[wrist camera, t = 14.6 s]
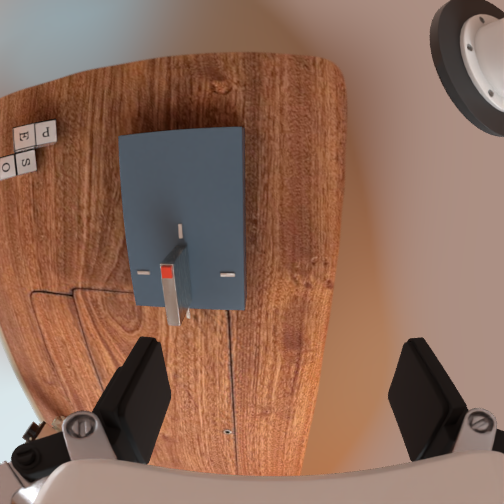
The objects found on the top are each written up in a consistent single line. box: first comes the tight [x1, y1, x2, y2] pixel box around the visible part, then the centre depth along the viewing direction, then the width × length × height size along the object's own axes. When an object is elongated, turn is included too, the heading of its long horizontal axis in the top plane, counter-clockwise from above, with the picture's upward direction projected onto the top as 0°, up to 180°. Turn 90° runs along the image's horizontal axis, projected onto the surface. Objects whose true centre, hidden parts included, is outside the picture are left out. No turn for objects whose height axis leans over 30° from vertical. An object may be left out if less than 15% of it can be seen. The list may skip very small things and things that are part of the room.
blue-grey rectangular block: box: [119, 127, 247, 318], centre depth 31 cm, size 19×12×3 cm, turn 0°
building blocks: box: [0, 119, 57, 181], centre depth 27 cm, size 5×5×8 cm
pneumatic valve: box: [22, 416, 66, 443], centre depth 41 cm, size 6×12×12 cm, turn 43°
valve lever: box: [160, 245, 192, 326], centre depth 29 cm, size 6×1×5 cm, turn 0°
